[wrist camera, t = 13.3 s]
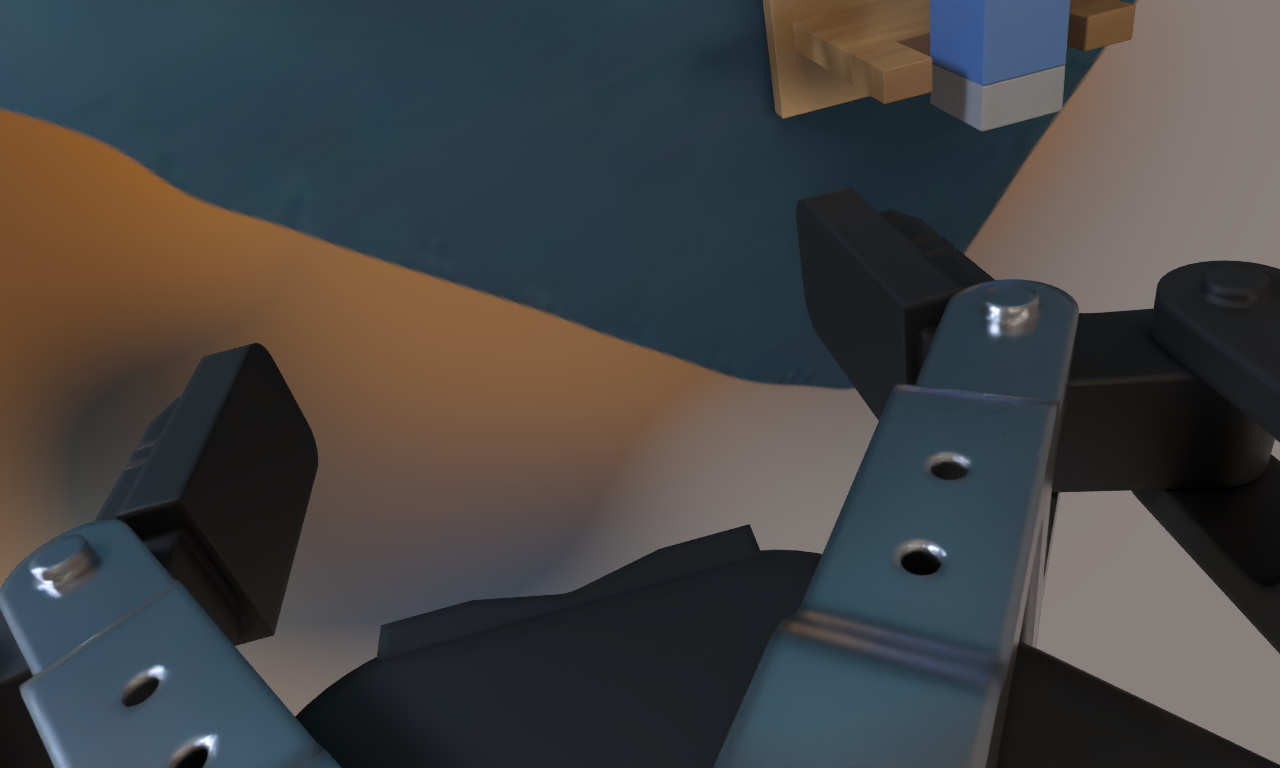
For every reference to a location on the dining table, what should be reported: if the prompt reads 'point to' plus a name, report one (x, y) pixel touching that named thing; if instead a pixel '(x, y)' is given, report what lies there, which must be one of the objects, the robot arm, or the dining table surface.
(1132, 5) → the holder
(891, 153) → the dining table surface
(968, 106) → the handle
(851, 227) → the robot arm
